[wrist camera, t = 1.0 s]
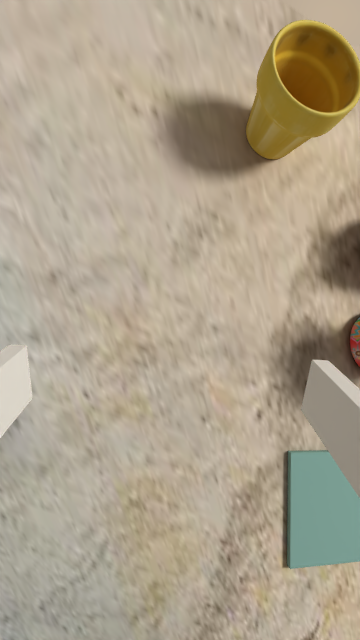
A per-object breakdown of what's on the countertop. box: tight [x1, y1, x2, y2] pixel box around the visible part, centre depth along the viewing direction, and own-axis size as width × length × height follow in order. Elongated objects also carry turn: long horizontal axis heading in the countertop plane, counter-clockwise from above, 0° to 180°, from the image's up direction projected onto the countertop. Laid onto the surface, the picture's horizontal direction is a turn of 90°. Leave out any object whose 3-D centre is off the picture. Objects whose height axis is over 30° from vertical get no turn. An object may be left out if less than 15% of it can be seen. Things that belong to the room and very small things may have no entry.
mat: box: [287, 450, 360, 569], centre depth 34 cm, size 12×12×1 cm
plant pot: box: [246, 20, 360, 159], centre depth 34 cm, size 10×10×10 cm
